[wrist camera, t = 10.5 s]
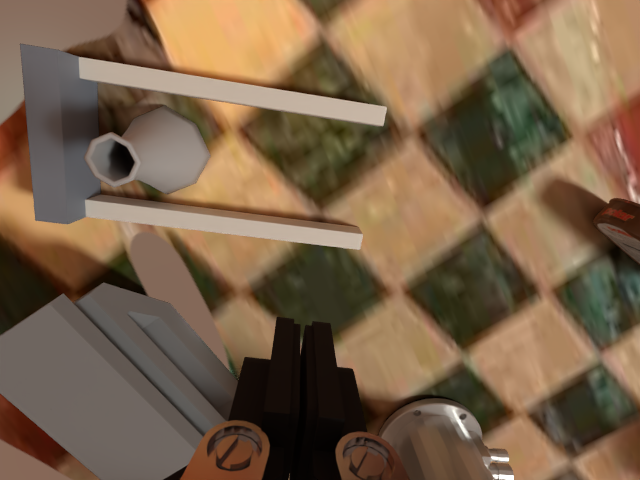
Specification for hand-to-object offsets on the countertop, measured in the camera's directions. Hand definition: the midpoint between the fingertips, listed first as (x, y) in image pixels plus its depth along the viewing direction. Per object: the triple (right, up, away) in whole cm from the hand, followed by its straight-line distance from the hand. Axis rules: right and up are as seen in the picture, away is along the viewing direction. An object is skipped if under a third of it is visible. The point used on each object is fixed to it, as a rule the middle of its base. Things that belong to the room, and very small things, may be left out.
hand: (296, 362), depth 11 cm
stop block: (-20, +13, +20) cm, 31 cm away
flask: (-13, +12, +21) cm, 27 cm away
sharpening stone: (-15, -9, +27) cm, 32 cm away
